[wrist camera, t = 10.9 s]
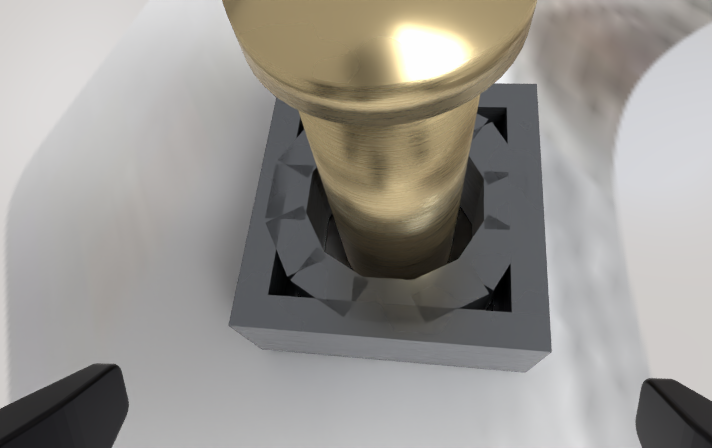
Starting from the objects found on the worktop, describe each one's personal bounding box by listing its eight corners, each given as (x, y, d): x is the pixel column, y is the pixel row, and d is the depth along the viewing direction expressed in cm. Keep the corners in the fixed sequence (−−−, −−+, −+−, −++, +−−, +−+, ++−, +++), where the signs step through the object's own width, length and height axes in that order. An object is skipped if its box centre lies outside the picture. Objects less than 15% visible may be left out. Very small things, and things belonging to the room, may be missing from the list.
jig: (525, 372, 16) (551, 352, 13) (261, 349, 18) (228, 325, 15) (517, 142, 20) (536, 83, 17) (299, 136, 21) (279, 81, 18)
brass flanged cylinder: (467, 313, 18) (555, 86, 7) (321, 303, 18) (186, 81, 7) (468, 183, 20) (537, -151, 9) (337, 178, 20) (252, -137, 9)
